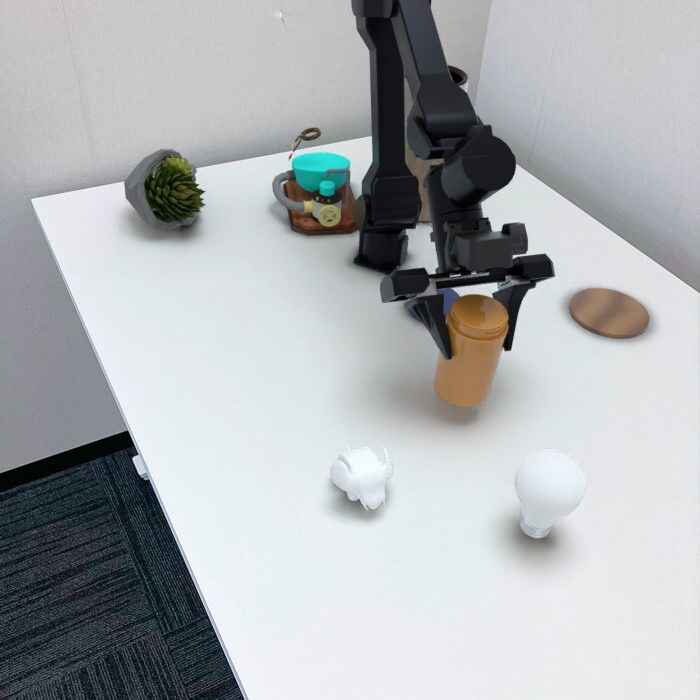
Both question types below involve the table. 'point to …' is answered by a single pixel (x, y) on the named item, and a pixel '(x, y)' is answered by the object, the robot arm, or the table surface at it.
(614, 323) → the coaster
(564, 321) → the table surface
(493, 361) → the jar
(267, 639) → the table surface
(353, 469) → the elephant figurine
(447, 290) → the jar lid
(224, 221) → the table surface
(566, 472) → the light bulb
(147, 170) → the potted plant
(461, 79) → the planter
